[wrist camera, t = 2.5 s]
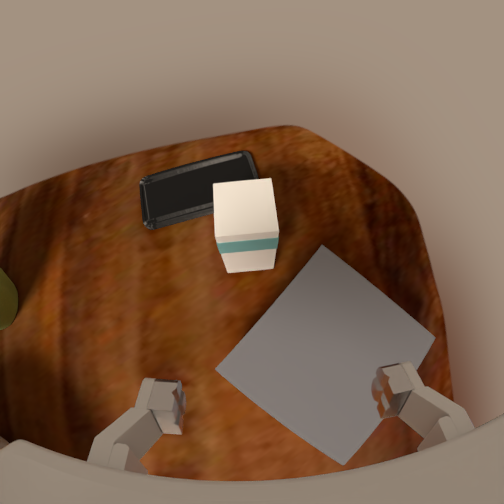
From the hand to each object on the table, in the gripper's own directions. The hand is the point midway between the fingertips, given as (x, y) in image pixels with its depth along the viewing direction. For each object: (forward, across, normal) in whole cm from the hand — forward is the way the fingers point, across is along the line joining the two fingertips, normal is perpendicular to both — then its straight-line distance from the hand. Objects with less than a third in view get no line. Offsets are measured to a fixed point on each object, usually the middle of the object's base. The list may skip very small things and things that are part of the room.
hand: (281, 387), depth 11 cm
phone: (+29, +7, -1) cm, 30 cm away
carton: (+23, +1, +4) cm, 23 cm away
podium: (+14, -6, +13) cm, 20 cm away
